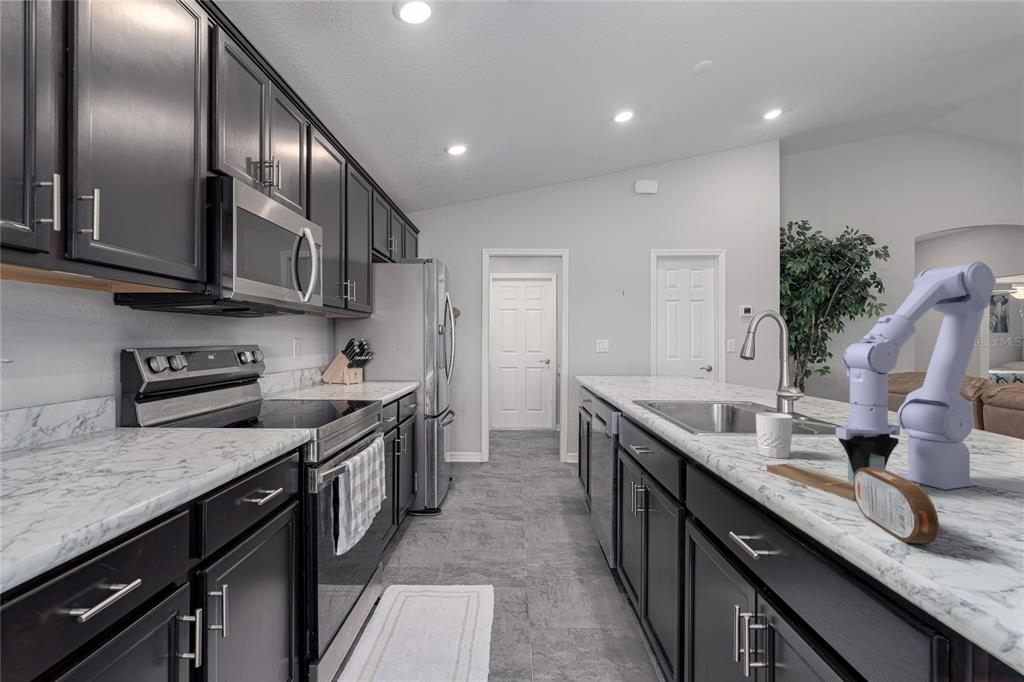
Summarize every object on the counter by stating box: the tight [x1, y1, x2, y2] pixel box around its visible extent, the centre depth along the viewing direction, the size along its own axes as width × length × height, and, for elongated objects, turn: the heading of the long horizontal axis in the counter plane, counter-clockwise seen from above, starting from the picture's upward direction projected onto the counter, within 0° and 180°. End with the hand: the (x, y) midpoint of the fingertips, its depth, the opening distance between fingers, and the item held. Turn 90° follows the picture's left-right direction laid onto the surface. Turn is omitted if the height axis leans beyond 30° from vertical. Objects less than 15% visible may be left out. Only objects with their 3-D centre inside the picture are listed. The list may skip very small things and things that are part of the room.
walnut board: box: [766, 463, 856, 502], centre depth 85 cm, size 6×18×1 cm, turn 16°
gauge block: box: [847, 454, 886, 483], centre depth 84 cm, size 4×4×6 cm
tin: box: [853, 467, 940, 545], centre depth 64 cm, size 15×3×8 cm, turn 168°
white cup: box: [755, 412, 794, 459], centre depth 106 cm, size 8×8×10 cm
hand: (868, 473), depth 83 cm, fingers closed on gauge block, 4 cm apart
